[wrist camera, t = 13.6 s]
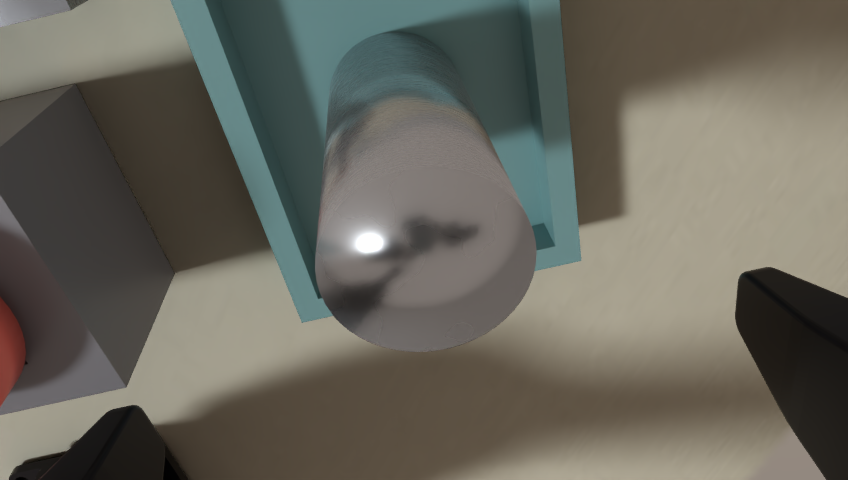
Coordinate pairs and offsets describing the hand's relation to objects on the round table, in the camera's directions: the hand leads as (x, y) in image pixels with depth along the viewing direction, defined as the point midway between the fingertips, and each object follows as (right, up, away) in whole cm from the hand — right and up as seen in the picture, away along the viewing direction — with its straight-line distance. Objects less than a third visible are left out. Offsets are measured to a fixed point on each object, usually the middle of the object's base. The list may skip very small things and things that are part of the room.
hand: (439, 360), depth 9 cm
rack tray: (-1, +6, +10) cm, 12 cm away
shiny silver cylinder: (-1, +6, +10) cm, 11 cm away
